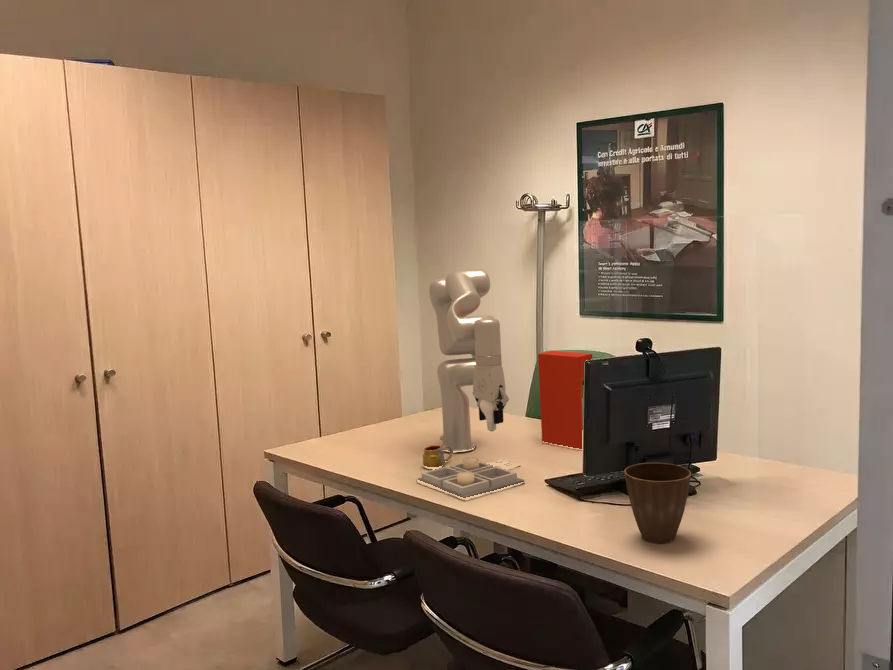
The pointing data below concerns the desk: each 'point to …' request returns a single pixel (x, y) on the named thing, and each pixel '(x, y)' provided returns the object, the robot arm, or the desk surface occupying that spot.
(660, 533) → the plant pot
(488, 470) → the compartment tray
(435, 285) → the robot arm
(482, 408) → the lightbulb
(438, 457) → the mug
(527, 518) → the desk surface
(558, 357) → the file binder
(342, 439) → the desk surface
